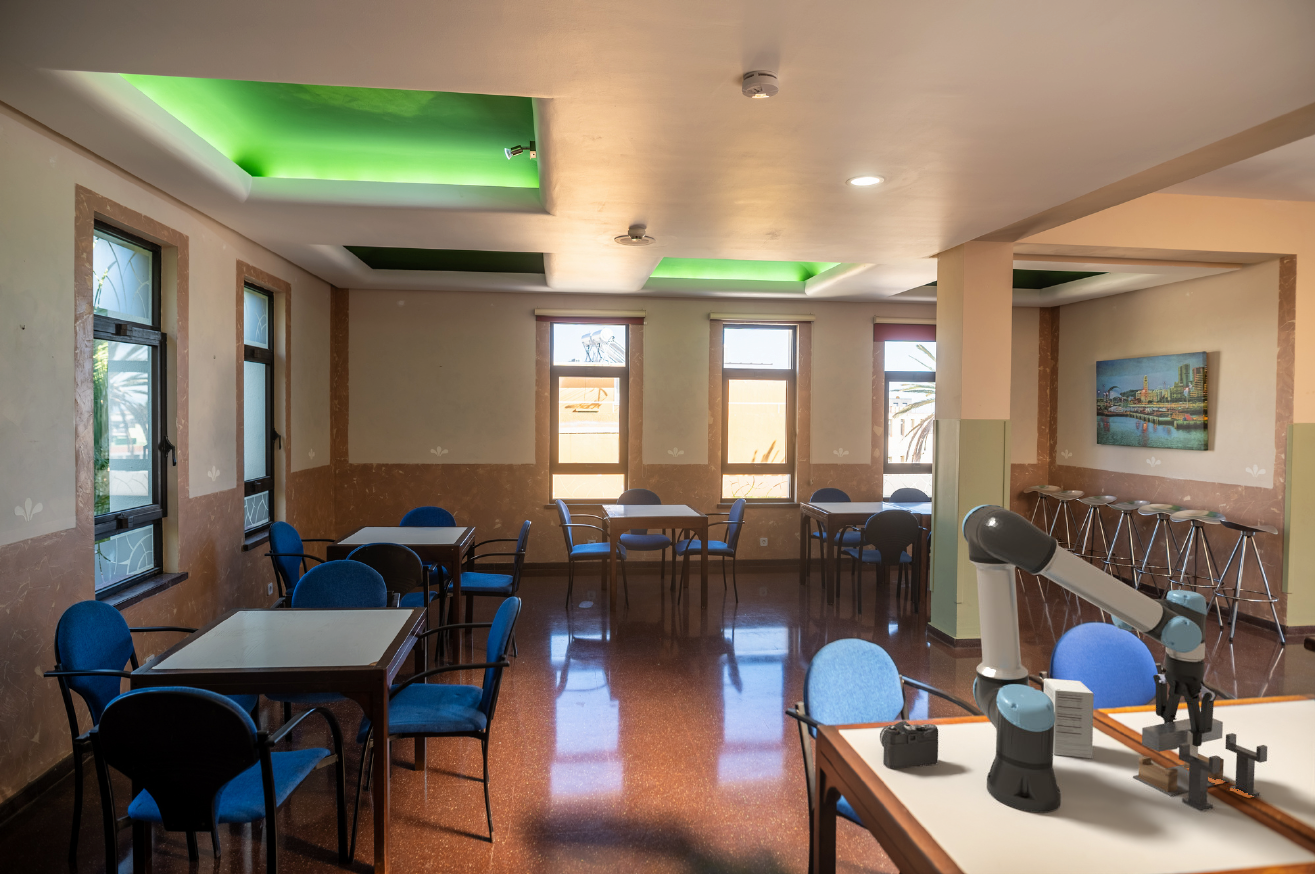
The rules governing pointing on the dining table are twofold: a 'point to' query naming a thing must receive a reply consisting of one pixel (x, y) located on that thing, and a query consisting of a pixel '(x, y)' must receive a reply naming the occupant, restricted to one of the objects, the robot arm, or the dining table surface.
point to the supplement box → (1071, 717)
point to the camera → (909, 745)
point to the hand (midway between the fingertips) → (1182, 752)
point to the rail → (1175, 734)
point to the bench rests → (1171, 776)
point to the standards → (1201, 769)
